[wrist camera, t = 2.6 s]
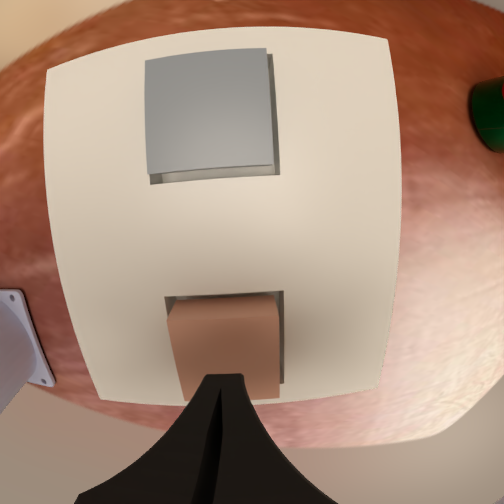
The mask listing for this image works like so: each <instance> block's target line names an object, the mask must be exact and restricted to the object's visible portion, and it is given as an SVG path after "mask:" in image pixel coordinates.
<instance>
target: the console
mask: <svg viewBox="0 0 504 504" xmlns="http://www.w3.org/2000/svg"><path fill="white" fill-rule="evenodd" d="M245 48H266V50H267V63H268V77H269V91H270V106H271V122H272V140H273V159H274V164H273V165H269V166H252V167H234V168H219V169H207V170H195V171H185V172H175V173H166V174H147V160H146V141H145V101H144V86H145V60H150V59H156V58H161V57H167V56H173V55H180V54H187V53H195V52H204V51H214V50H227V49H245ZM44 167H45V182H46V194H47V203H48V212H49V220H50V227H51V233H52V239H53V245H54V251H55V256H56V261H57V266H58V270H59V275H60V279H61V284H62V288H63V292H64V296H65V300H66V303H67V307H68V311H69V314H70V317H71V321H72V324H73V327H74V331H75V334H76V337H77V340H78V343H79V346H80V349H81V351H82V354H83V357H84V360H85V362H86V365H87V368H88V370H89V373H90V375H91V378H92V380H93V383H94V385H95V388H96V390H97V392H98V395H99V397H100V399H103V400H110V401H119V402H129V403H140V404H153V405H172V406H187V404H188V403H189V402H190V401H184V397H183V393H182V389H181V385H180V381H179V377H178V373H177V368H176V364H175V360H174V355H173V350H172V346H171V341H170V336H169V331H168V326H167V321H166V320H167V318H168V316H169V314H170V312H171V310H172V308H173V306H174V304H175V302H176V300H190V299H214V298H233V297H251V296H267V295H274V298H275V302H276V306H277V310H278V314H279V361H280V398H274V399H261V400H250V401H251V403H252V405H258V404H272V403H283V402H293V401H302V400H310V399H317V398H324V397H331V396H337V395H343V394H349V393H355V392H360V391H365V390H370V389H375V388H378V384H379V380H380V376H381V371H382V367H383V362H384V357H385V352H386V347H387V342H388V336H389V330H390V324H391V318H392V311H393V304H394V297H395V289H396V280H397V270H398V259H399V246H400V230H401V194H402V182H401V147H400V131H399V118H398V108H397V98H396V90H395V82H394V75H393V69H392V63H391V57H390V51H389V46H388V41H387V39H384V38H379V37H373V36H368V35H362V34H356V33H349V32H342V31H334V30H324V29H313V28H297V27H237V28H221V29H210V30H200V31H192V32H185V33H178V34H172V35H166V36H160V37H155V38H150V39H145V40H140V41H136V42H132V43H128V44H124V45H120V46H116V47H112V48H109V49H105V50H102V51H98V52H95V53H92V54H89V55H86V56H83V57H80V58H77V59H74V60H71V61H69V62H66V63H63V64H61V65H58V66H56V67H53V68H51V69H48V70H47V77H46V88H45V103H44Z"/></svg>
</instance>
